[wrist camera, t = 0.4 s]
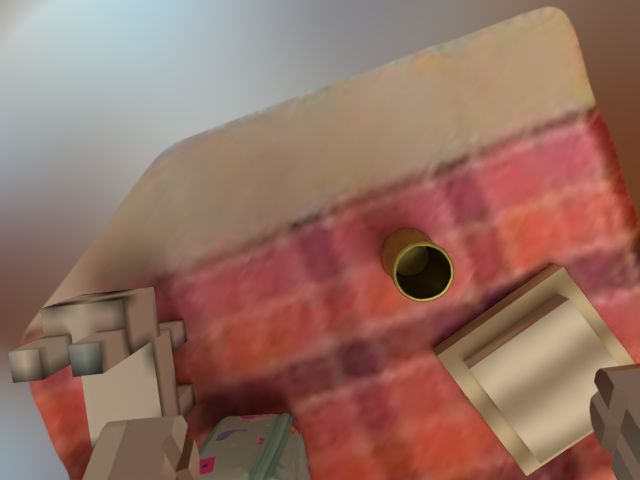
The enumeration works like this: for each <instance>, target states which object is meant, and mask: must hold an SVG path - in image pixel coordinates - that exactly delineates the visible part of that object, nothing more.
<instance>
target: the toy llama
mask: <svg viewBox="0 0 640 480" xmlns="http://www.w3.org/2000/svg"><path fill="white" fill-rule="evenodd" d="M40 313H41V319H42V326H43V332H44V337H43V338H40V339H38V340H36V341H33V342H31V343H29V344H26V345H24V346H22V347H19V348H17V349H15V350H12V351H10V352H9V359H10V366H11V373H12V378H13V383H16V382H26V381H36V380H44V379H45V378H47V377H49V376H51V375H52V374H54V373H56V372H58V371H60V370H61V369H63V368H65V367H67V366H68V365H70V364H71V367H72V373H73V377H76V376H81V378H82V385H83V392H84V398H85V405H86V412H87V418H88V425H89V432H90V439H91V445H92V448H95V445H96V443H97V440H98V437H99V435H100V432H101V430H102V428H103V427H104V426H105V425H106V423H107V422H111V421H121V420H131V419H142V418H154V417H167V416H180V415H182V416H183V417H184V418H185V417H186V416H187V414H188V413H189V412H190V411H191V409H192V408H193V407H194V406H195V397H194V389H193V383H191V384H181V385H177V384H176V377H175V369H174V362H173V355H172V353H173V352H174V351H175V350H176V349H178V348H179V347H180V346H181V345H183V344H184V343H185V342H186V341H187V338H186V331H185V324H184V320H177V321H167V322H162V323H160V324H159V321H158V314H157V307H156V300H155V293H154V287H148V288H139V289H130V290H121V291H112V292H103V293H94V294H85V295H81V296H78V297H75V298H72V299H69V300H66V301H63V302H60V303H57V304H54V305H51V306H48V307H45V308H42V309H40Z"/></svg>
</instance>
